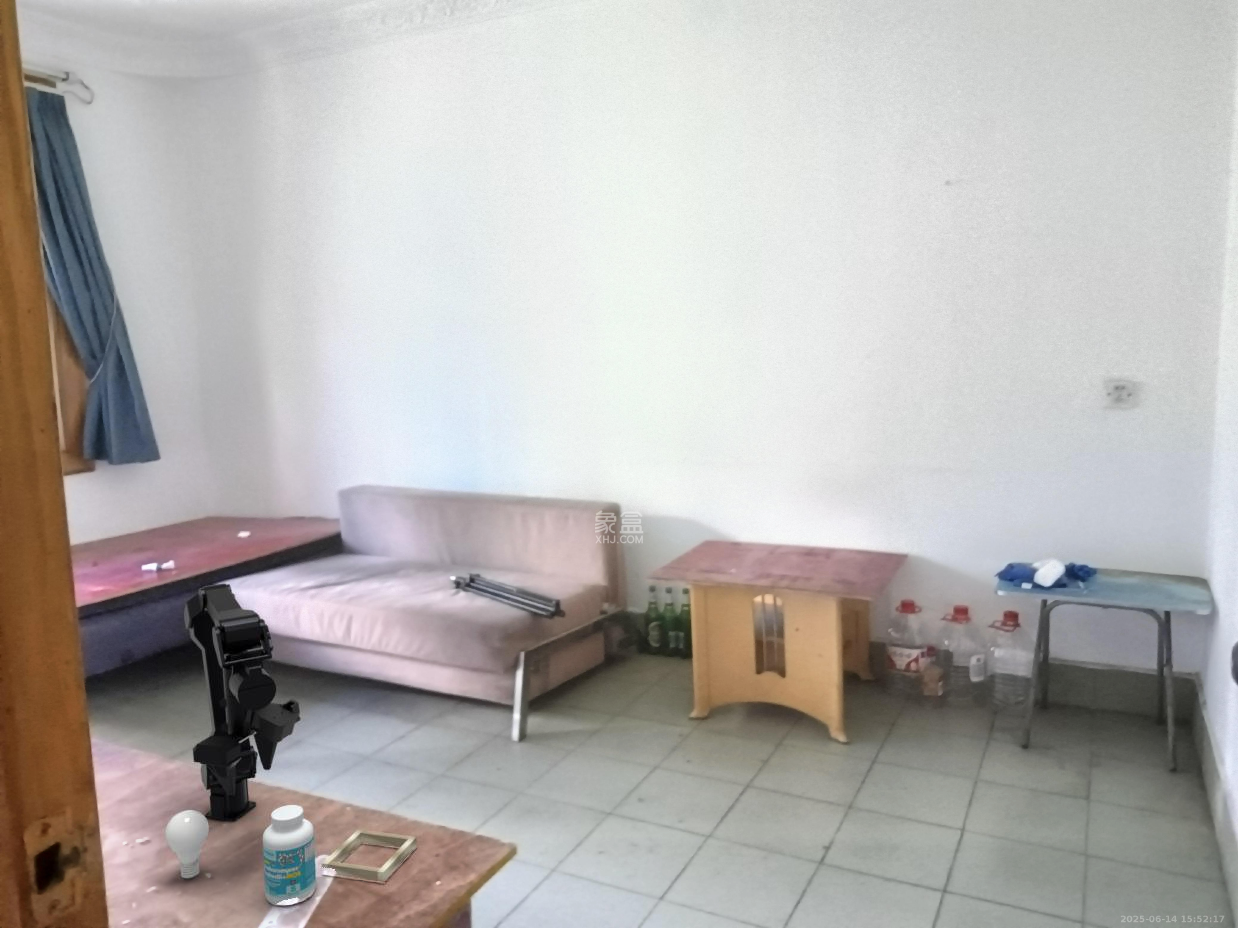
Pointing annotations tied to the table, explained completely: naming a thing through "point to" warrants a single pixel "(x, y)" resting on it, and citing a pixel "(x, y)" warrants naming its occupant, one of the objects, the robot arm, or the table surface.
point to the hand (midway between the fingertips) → (249, 781)
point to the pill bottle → (289, 855)
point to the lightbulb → (187, 839)
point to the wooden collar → (371, 838)
